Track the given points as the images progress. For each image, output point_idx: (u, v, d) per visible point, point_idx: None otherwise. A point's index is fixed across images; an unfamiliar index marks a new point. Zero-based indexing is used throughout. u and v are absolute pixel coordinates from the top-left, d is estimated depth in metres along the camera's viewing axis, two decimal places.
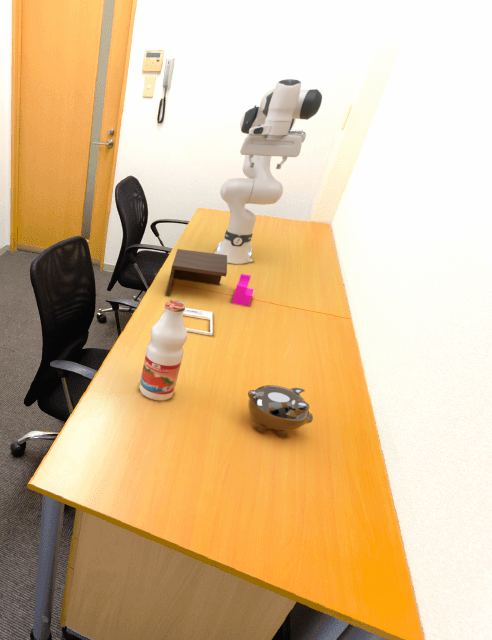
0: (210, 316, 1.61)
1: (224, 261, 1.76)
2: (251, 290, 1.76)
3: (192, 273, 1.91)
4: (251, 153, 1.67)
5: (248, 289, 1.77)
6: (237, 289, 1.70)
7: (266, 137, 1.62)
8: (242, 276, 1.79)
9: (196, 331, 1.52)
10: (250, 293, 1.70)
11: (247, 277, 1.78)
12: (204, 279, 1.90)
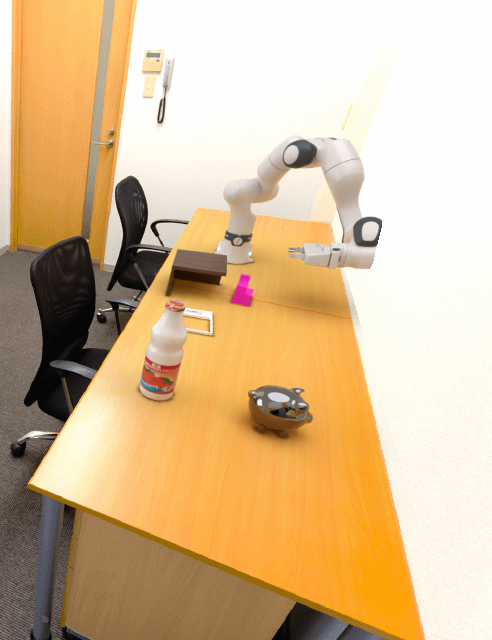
0: (210, 316, 1.61)
1: (224, 261, 1.76)
2: (251, 290, 1.76)
3: (192, 273, 1.91)
4: None
5: (248, 289, 1.77)
6: (237, 289, 1.70)
7: None
8: (242, 276, 1.79)
9: (196, 331, 1.52)
10: (250, 293, 1.70)
11: (247, 277, 1.78)
12: (204, 279, 1.90)
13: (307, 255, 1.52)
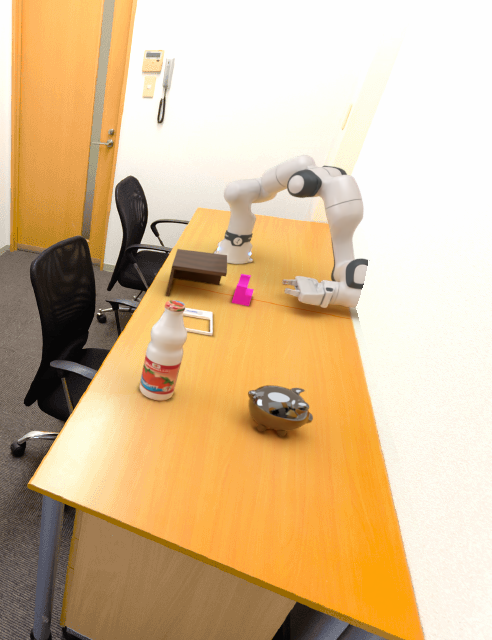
0: (210, 316, 1.61)
1: (224, 261, 1.76)
2: (251, 290, 1.76)
3: (192, 273, 1.91)
4: None
5: (248, 289, 1.77)
6: (237, 289, 1.70)
7: None
8: (242, 276, 1.79)
9: (196, 331, 1.52)
10: (250, 293, 1.70)
11: (247, 277, 1.78)
12: (204, 279, 1.90)
13: (303, 293, 1.59)
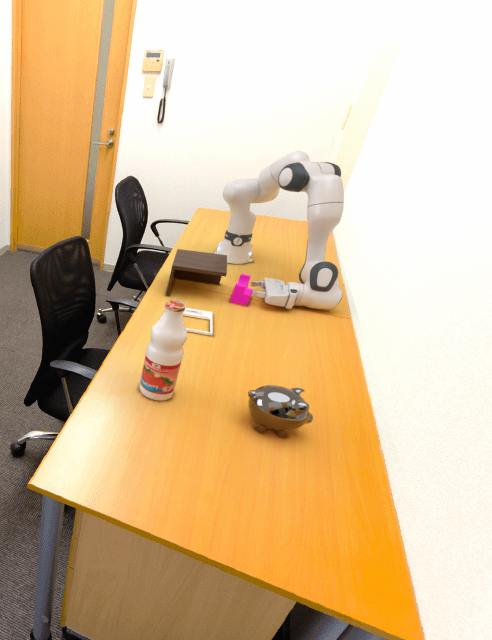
0: (210, 316, 1.61)
1: (224, 261, 1.76)
2: (250, 290, 1.76)
3: (192, 273, 1.91)
4: None
5: (247, 289, 1.77)
6: (235, 289, 1.70)
7: None
8: (242, 276, 1.79)
9: (196, 331, 1.52)
10: (248, 293, 1.70)
11: (247, 277, 1.78)
12: (204, 279, 1.90)
13: (268, 295, 1.64)
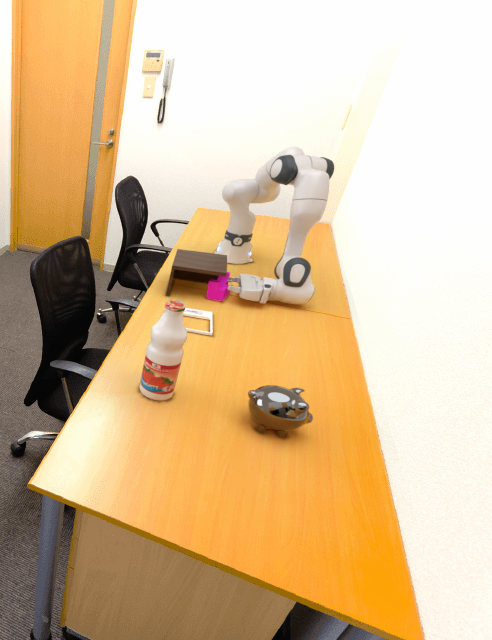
0: (210, 316, 1.61)
1: (224, 261, 1.76)
2: None
3: (192, 273, 1.91)
4: None
5: (226, 285, 1.79)
6: (210, 284, 1.74)
7: None
8: None
9: (196, 331, 1.52)
10: (223, 288, 1.73)
11: None
12: (204, 279, 1.90)
13: (243, 290, 1.67)
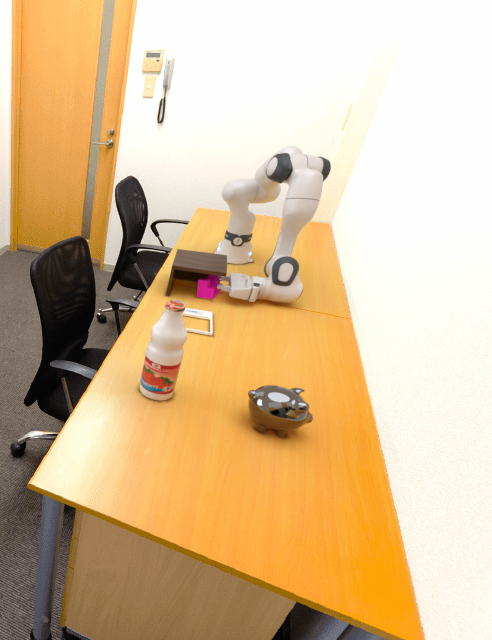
0: (210, 316, 1.61)
1: (224, 261, 1.76)
2: None
3: (192, 273, 1.91)
4: None
5: (216, 283, 1.80)
6: (199, 283, 1.75)
7: None
8: None
9: (196, 331, 1.52)
10: (213, 286, 1.74)
11: None
12: None
13: (232, 288, 1.68)
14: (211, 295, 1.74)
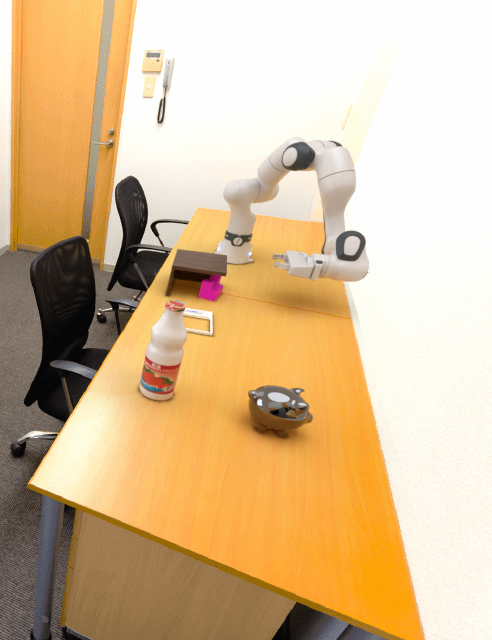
0: (210, 316, 1.61)
1: (224, 261, 1.76)
2: (220, 286, 1.80)
3: (192, 273, 1.91)
4: None
5: (218, 285, 1.80)
6: (203, 284, 1.75)
7: None
8: None
9: (196, 331, 1.52)
10: (216, 288, 1.74)
11: None
12: None
13: (292, 266, 1.56)
14: (213, 297, 1.74)
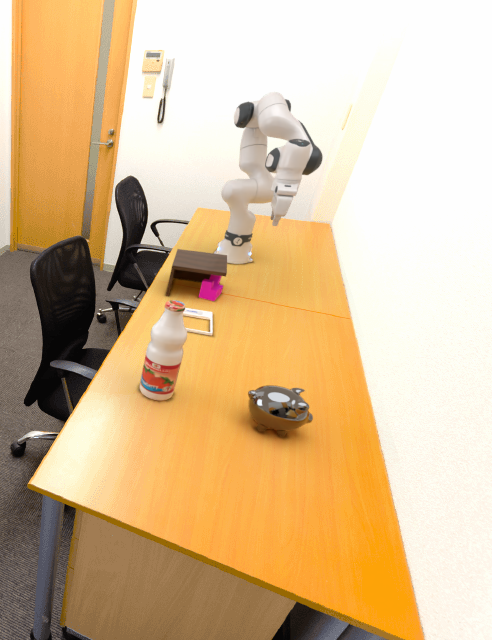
0: (210, 316, 1.61)
1: (224, 261, 1.76)
2: (220, 286, 1.80)
3: (192, 273, 1.91)
4: None
5: (218, 285, 1.80)
6: (203, 284, 1.75)
7: None
8: None
9: (196, 331, 1.52)
10: (216, 288, 1.74)
11: None
12: None
13: (275, 214, 1.60)
14: (213, 297, 1.74)
